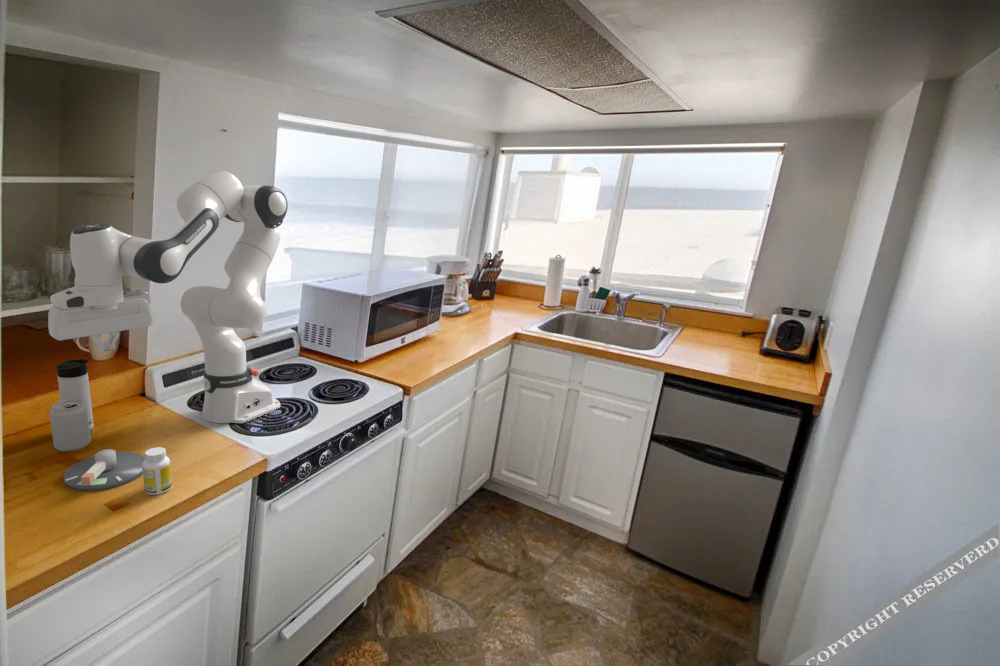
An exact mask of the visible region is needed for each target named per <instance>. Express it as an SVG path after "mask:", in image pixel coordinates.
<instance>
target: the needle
mask: <svg viewBox="0 0 1000 666" xmlns="http://www.w3.org/2000/svg"><path fill="white" fill-rule="evenodd" d="M116 452H117V451H116V450H114V449H111V448H110V449H109V448H108V449H103V450H99V451H98V452H96V453H95V454H94V456H95V464H94V465H93V466H92V467H91V468H90V469H89V470H88V471H87V472H86V473H85V474H83V475H82V476H81V484H82V485H90V484H91V483H92V482H93V481H94V480H95V479H96V478H97V477H98V476H99V475H100V474H101V473H102V472H103V471H109V470H112V469H114V468H116V466H117V461H116Z"/></svg>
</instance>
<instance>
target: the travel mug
mask: <svg viewBox="0 0 1000 666" xmlns="http://www.w3.org/2000/svg"><path fill="white" fill-rule="evenodd" d="M88 363H89V360H87V358H79V359H77V358H76V359H70V360H66V361H63V362H60V363H59V364H57V366H56V372H57V376H56V377H57V383H58V389H59V391H58V392H59V399H60V400H59V401H64V400H70V399H77V400H82V401H83V402H84V403H83V404H85V405H86V406H87V409H88V418H89V426H90V433H92V432H93V431H94V430H95V425H94V416H93V407H92V399H91V388H90V381H89V375H88V374H89V372H88Z"/></svg>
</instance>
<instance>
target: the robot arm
mask: <svg viewBox="0 0 1000 666" xmlns="http://www.w3.org/2000/svg"><path fill="white" fill-rule="evenodd" d="M288 204H289V203H288V199H287V197H286V195H285V193H284V192H283V191H282V190H281V189H279V188H277V187H275V186H272V185H258V184H257V185H256V184H255V185H254V184H249V185H243V184H242V182H241V181H240V179H239V178H237V176H236V175H234V174H233V173H230V172H228V171H222V170H221V171H217V172H213V173H212V174H209V175H207V176H205V177H203V178H200V179H199V180H197V181H196V182H194V183H193V184H190V186H188V187H187V188H185V189H184V190H183V191H182V192H181V193H180V194H179V195H178V197H177V198H176V209H177V212H178V214H179V215H180V218H181V219H182V220H183V222H184V224H183V225H182V226H181V227H180V228H178V230H177V231H176V232H175V233H173V235H171V237H168V238H164V239H150V238H144V237H140V236H135V235H132V234H127V233H125V232H122V231H121V230H118V229H116V228H114V227H113V226H112V225H111V224H109V223H104V222H92V223H85V224H81V225H77V226H76V227H74V229H72V232H71V235H70V240H69V248H70V251H69V252H70V259H71V260H70V261H71V265H72V267H73V269H74V272H75V275H74V276H75V277H74V279H73V280H74V281H73V282H74V286H72V287H69V288H66V289H64V290H61V291H59V292H56V293H55V292H54V293H53V294H51V295H50V297H49V299H50V302H51V304H52V305H53V306H51V307H50V308H49V310H48V313H47V314H48V315H47V321H48V322H47V327H48V334H49V335H50V336H51V337H52V338H53V339H55V340H57V341H65V340H72V339H79V338H86V337H91V339H92V340H93V341H94V342H95V343H96V344H97V347H98V351H99V352H101V353H102V352H108V351H113V350H116V342H117V340H118V339H119V337H120V332H124V331H130V330H136V329H142V328H150V327H151V326H152V325H153V323H154V317H153V312H152V309H151V308H152V307H151V300H152V299H151V295H150V294H149V293H148V292H146V291H144V290H141V289H140V290H139V289H137V290H133V291H130V290H128V291H124V288H123V278H122V277H123V276H126V275H127V276H131V277H135V278H140V279H144V280H147V281H150V282H153V283H155V284H168V283H170V282H173V281H174V280H175V279H177V278H178V277H179V276H180V275H181V273H182V271H183V270H184V269H185V267H186V265H187V263H188V262H189V261H190V259H191V257H193V256H194V255H195V253H197V252H198V250H199V249H200V248H201V247H202V246H203V245H204V244H205V243H206V242H207V241H208V240H209V239H210V238H211V237H212V236H213V235H214V233H215V232H216V230H217V229H218V227H219V226H220V225H219V224H220V221H221V220H223V219H224V218H225V219H226V220H228V221H232V222H235V223H243V231H242V233H241V235H240V236H239V238H238V240H237V241H236V243H235V244H234V246H233V248H232V250H231V251H230V254H229V256H227V259H226V260H225V262H224V265H223V267H224V271H225V274H226V275H227V277H228V278H229V281H228V282H229V283H228V285H227V287H226V288H221V287H217V286H216V287H215V286H210V285H201V286H192V287H189V288H188V289H186V290H185V291H184V292H183V294H182V296H181V298H180V309H181V311H182V313H183V314H184V316H185V317H187V318H188V320H189V321H190V322H191V323H192V325H193V326H194V328H195V330H196V332H197V334H198V336H199V338H200V341H201V344H202V350H203V357H204V371H203V387H204V388H203V389H204V391H205V392H204V401H203V407H202V411H201V414H200V417H201V418H202V419H203V420H205V421H207V422H211V423H218V424H225V423H226V424H227V423H229V424H230V423H235V424H245V422H246V423H248V422H249V421H253V420H255V419H257V417H258V418H260V417H262V416H265V415H267V414H270V413H272V412H274V411H277V410H279V409H281V408H280V407H282V406H281V403H280V401H279V400H278V399H277V398H275V397H274V396H273V393H272V390H271V389H270V387H269V386H268V385H266V384H264V383H262V382H261V381H259V380H257V379H255V378H257V377H259V374H260V372H259V370H257V369H255V368H253V369H252V368H251V367H248V366H247V347H246V344H245V342H244V341H243V340H242V339H241V338H240V337H239V336H238V335H237V333H236V332H235V330H237V331H251V330H257V329H258V328H260V327H261V326H262V325H263V323H264V322H265V320H266V317H267V306H266V303H265V302H264V300H263V299H262V296H261V295H262V294H261V287H262V282H263V280H264V278H265V275H266V274H267V271H268V269H269V267H270V265H271V264H272V261H273V260H274V258H275V255H276V253H277V250H278V248H279V244H280V240H281V239H280V238H281V234H280V231H279V229H278V227H280V226H281V225H282V224H283V223H284V222H283V221H284V219H285V218H286V215H287V212H288V206H289V205H288ZM102 334H103V335H104V334H109V335H111V336H110V338H109V340H108V341H103V342H102V341H101V339H102ZM253 377H255V378H253ZM278 408H279V409H278ZM276 409H277V410H276ZM269 412H270V413H269ZM264 414H265V415H264ZM252 419H253V420H252ZM247 421H248V422H247Z"/></svg>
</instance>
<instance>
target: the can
mask: <svg viewBox="0 0 1000 666" xmlns="http://www.w3.org/2000/svg"><path fill="white" fill-rule="evenodd" d="M83 403H84V402H83V401H82V400H77V399H70V400H64V401H61V400H59V401H57V402H54V404H52V405H51V409H50V410H49V412H48V413H49V414H48V415H49V421H50V428H51V436H52V442H53V443H52V444H53V448H54V449H55V450H58V451H59V452H65V453H70V452H75V451H80V450H82V449H84V448H86V447H87V446H88V445H89V444H90V443H91V442H92V438H91V436H92V435H91V432H90V426H89V418H88V409H87V406H86V405H85V404H83Z"/></svg>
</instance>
